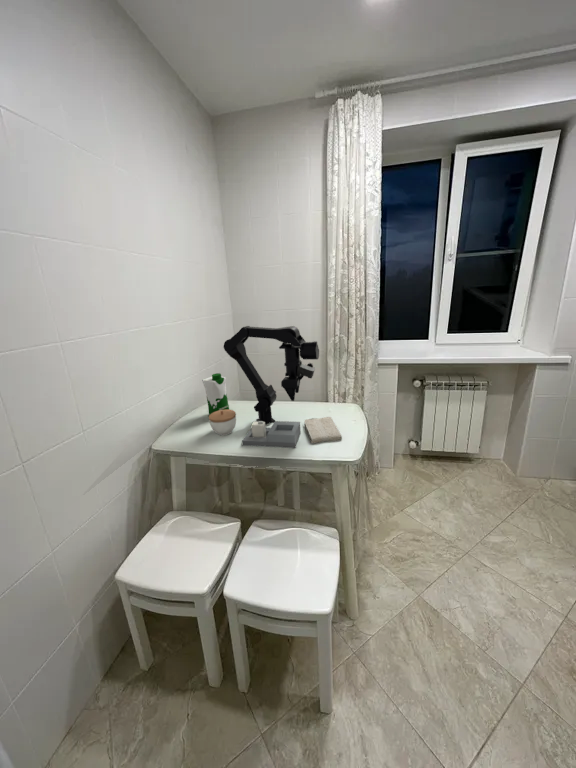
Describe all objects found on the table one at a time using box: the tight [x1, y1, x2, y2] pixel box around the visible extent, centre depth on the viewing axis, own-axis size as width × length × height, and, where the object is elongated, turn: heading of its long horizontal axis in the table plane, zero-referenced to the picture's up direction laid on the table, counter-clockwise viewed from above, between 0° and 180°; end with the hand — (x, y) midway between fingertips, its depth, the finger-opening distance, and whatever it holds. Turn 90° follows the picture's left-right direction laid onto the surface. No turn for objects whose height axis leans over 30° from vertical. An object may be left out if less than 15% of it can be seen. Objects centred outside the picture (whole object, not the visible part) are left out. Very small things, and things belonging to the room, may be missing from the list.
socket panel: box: [241, 420, 302, 449], centre depth 111 cm, size 20×11×5 cm, turn 78°
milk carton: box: [202, 372, 230, 416], centre depth 135 cm, size 9×9×20 cm
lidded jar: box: [208, 409, 237, 436], centre depth 119 cm, size 11×11×9 cm
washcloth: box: [304, 416, 343, 444], centre depth 115 cm, size 12×18×3 cm, turn 7°
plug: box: [251, 421, 267, 438], centre depth 112 cm, size 4×3×7 cm, turn 79°
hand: (295, 396), depth 120 cm, fingers open, 9 cm apart
